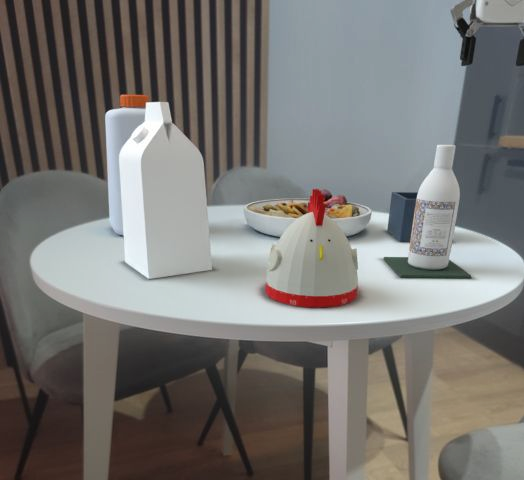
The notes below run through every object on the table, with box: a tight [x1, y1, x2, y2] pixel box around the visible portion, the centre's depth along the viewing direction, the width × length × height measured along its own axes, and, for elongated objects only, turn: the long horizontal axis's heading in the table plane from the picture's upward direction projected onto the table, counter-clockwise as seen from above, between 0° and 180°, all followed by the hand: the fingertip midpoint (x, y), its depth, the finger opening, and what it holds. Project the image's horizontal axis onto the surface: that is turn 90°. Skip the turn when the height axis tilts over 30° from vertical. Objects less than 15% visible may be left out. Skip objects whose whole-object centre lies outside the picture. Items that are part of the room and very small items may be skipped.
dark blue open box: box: [386, 191, 418, 243], centre depth 112 cm, size 11×11×9 cm
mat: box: [383, 256, 472, 279], centre depth 89 cm, size 12×12×1 cm
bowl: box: [243, 188, 372, 238], centre depth 118 cm, size 30×30×8 cm
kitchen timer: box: [265, 188, 359, 308], centre depth 73 cm, size 14×14×15 cm
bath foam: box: [407, 144, 461, 270], centre depth 85 cm, size 7×7×20 cm
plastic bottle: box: [104, 94, 150, 237], centre depth 110 cm, size 15×15×28 cm
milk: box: [119, 101, 213, 280], centre depth 83 cm, size 12×12×26 cm
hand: (494, 65), depth 85 cm, fingers open, 9 cm apart
